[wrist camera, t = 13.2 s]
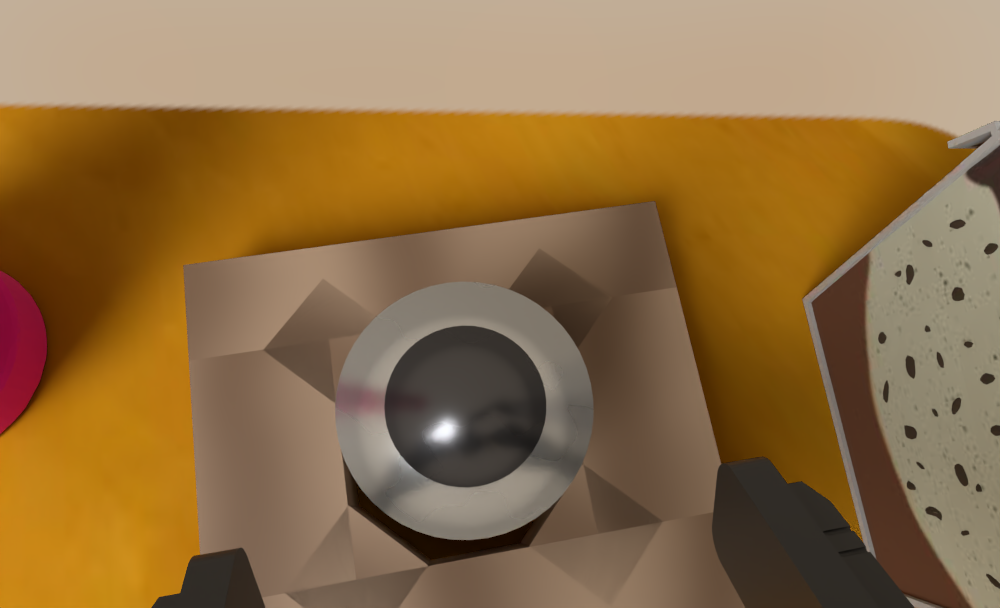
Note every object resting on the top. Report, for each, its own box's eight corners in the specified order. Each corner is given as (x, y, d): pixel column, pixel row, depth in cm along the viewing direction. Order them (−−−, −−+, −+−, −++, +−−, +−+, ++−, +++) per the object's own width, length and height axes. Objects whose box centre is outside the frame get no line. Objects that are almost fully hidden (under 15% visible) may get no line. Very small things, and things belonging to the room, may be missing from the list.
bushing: (521, 358, 23) (567, 265, 14) (549, 513, 22) (618, 514, 13) (370, 382, 22) (321, 299, 14) (390, 541, 21) (350, 562, 12)
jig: (634, 231, 24) (654, 200, 22) (724, 605, 21) (759, 617, 19) (211, 291, 23) (183, 264, 20) (239, 705, 20) (210, 732, 17)
